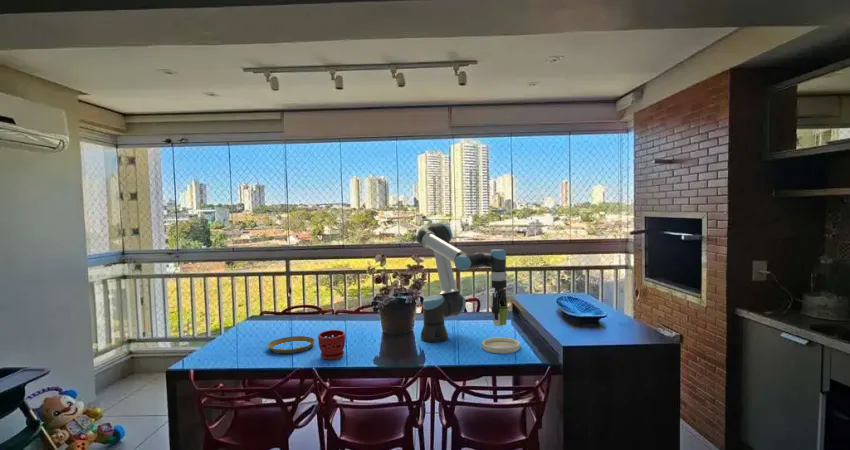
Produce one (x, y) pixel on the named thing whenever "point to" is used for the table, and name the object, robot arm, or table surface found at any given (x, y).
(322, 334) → the plant pot
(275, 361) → the table surface
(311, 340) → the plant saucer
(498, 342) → the saucer
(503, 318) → the plant pot
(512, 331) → the table surface
